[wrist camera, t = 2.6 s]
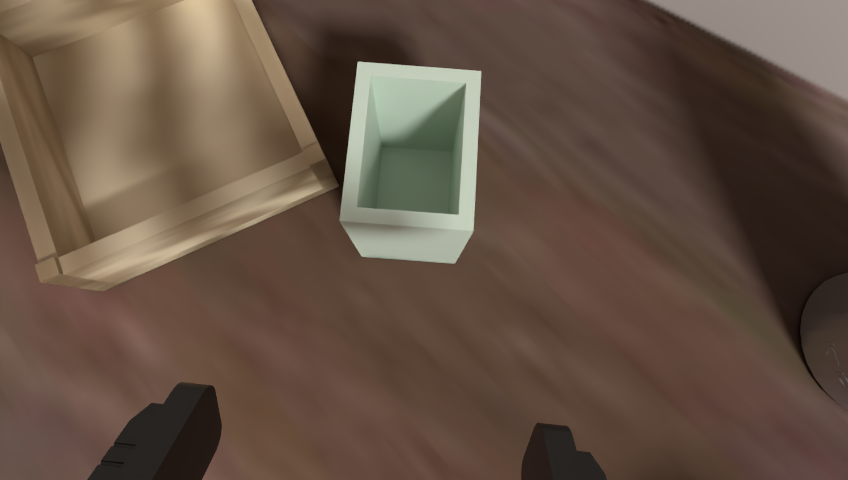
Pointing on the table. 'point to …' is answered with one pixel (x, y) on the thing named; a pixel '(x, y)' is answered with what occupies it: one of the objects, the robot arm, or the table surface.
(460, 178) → the box
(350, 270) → the table surface
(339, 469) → the table surface
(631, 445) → the table surface
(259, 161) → the wooden tray
